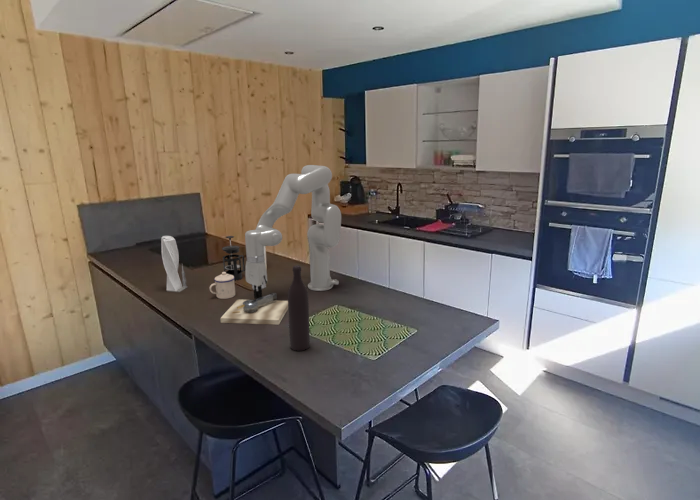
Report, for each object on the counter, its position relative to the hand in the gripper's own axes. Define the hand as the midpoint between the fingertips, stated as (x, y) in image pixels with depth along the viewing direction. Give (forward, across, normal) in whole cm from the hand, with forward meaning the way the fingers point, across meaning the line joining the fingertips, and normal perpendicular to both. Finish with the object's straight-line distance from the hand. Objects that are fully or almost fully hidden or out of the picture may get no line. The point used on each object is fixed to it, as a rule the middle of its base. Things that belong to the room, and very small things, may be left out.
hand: (258, 298), depth 183 cm
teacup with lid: (+4, -22, -4) cm, 22 cm away
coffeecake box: (+4, -46, +36) cm, 59 cm away
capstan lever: (0, +6, -5) cm, 8 cm away
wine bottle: (+4, +42, -14) cm, 44 cm away
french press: (+4, -40, +15) cm, 43 cm away
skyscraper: (+4, -48, -14) cm, 50 cm away
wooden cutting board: (+3, +7, -6) cm, 10 cm away
